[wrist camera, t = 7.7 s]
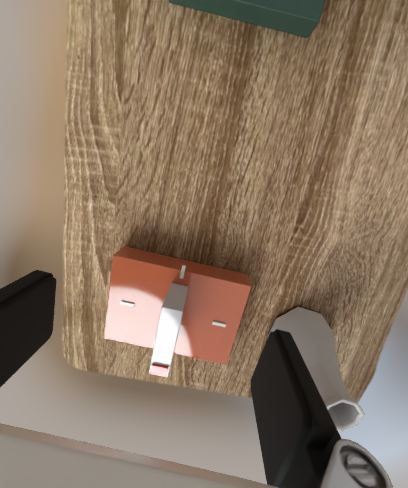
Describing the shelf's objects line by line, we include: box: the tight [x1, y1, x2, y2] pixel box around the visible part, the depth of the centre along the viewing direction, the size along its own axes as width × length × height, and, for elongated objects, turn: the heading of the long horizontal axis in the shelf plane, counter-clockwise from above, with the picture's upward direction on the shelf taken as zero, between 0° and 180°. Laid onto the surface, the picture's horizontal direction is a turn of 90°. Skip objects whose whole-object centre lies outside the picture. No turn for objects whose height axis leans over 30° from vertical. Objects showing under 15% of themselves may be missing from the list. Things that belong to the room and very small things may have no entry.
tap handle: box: [149, 283, 189, 377], centre depth 22 cm, size 7×2×5 cm, turn 167°
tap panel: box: [104, 246, 251, 364], centre depth 26 cm, size 14×11×3 cm
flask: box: [267, 307, 365, 431], centre depth 23 cm, size 7×7×10 cm
